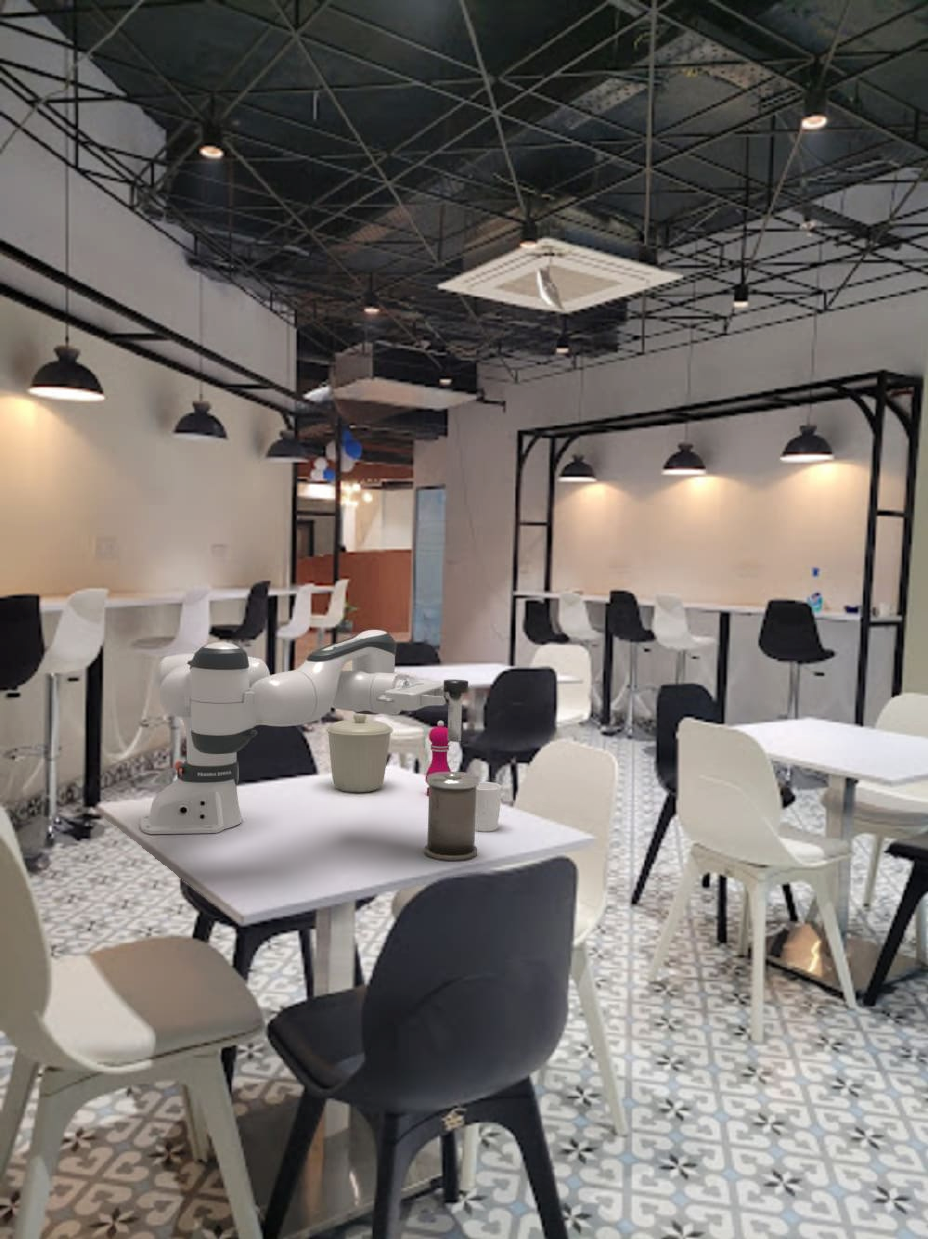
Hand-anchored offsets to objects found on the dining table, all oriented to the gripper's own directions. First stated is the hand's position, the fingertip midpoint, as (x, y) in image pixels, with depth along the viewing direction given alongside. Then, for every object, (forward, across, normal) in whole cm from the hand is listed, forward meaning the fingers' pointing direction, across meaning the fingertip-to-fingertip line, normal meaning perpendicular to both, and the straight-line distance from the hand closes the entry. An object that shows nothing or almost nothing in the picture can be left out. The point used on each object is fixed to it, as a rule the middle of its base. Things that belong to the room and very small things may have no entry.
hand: (452, 698), depth 190 cm
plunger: (+1, 0, +9) cm, 9 cm away
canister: (-40, +44, +33) cm, 69 cm away
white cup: (+2, +22, +33) cm, 40 cm away
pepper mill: (-18, +47, +33) cm, 60 cm away
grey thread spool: (+1, 0, +33) cm, 33 cm away
